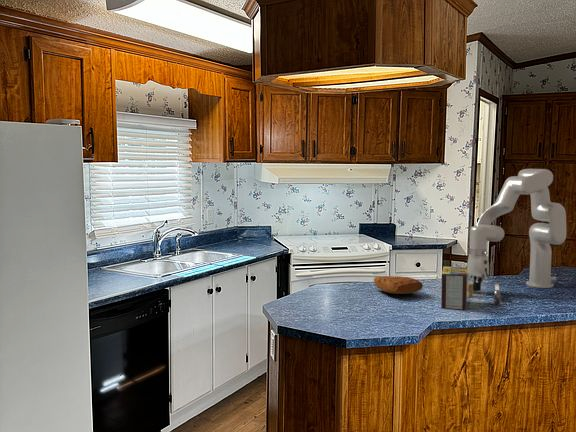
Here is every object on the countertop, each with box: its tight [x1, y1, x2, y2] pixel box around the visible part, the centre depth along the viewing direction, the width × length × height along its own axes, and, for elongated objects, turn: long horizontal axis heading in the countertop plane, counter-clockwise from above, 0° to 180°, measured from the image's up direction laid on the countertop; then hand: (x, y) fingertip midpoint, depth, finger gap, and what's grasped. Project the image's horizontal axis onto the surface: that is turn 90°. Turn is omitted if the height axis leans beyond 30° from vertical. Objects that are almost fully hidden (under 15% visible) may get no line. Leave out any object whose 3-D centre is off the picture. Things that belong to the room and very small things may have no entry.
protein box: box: [440, 266, 468, 311], centre depth 227 cm, size 10×15×16 cm
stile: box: [467, 283, 474, 298], centre depth 241 cm, size 3×3×6 cm
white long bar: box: [494, 282, 500, 290], centre depth 237 cm, size 14×2×5 cm, turn 159°
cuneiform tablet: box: [373, 275, 424, 295], centre depth 247 cm, size 22×17×8 cm
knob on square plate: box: [488, 289, 506, 307], centre depth 228 cm, size 5×5×6 cm
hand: (476, 290), depth 246 cm, fingers closed
